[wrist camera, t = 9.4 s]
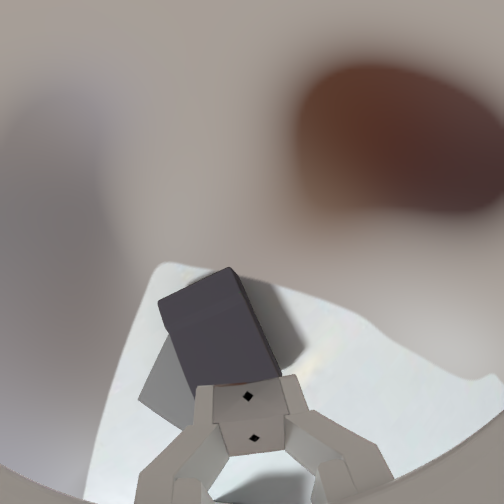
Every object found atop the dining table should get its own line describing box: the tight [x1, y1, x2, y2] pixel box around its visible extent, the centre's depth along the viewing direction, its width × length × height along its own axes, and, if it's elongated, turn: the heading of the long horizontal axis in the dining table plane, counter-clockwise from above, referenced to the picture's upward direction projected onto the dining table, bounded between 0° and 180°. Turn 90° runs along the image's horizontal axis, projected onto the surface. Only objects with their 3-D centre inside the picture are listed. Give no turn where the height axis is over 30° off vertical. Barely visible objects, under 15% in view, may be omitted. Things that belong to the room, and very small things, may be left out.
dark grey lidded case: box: [158, 267, 282, 400], centre depth 33 cm, size 11×4×15 cm
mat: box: [138, 335, 195, 431], centre depth 34 cm, size 12×18×1 cm, turn 153°
